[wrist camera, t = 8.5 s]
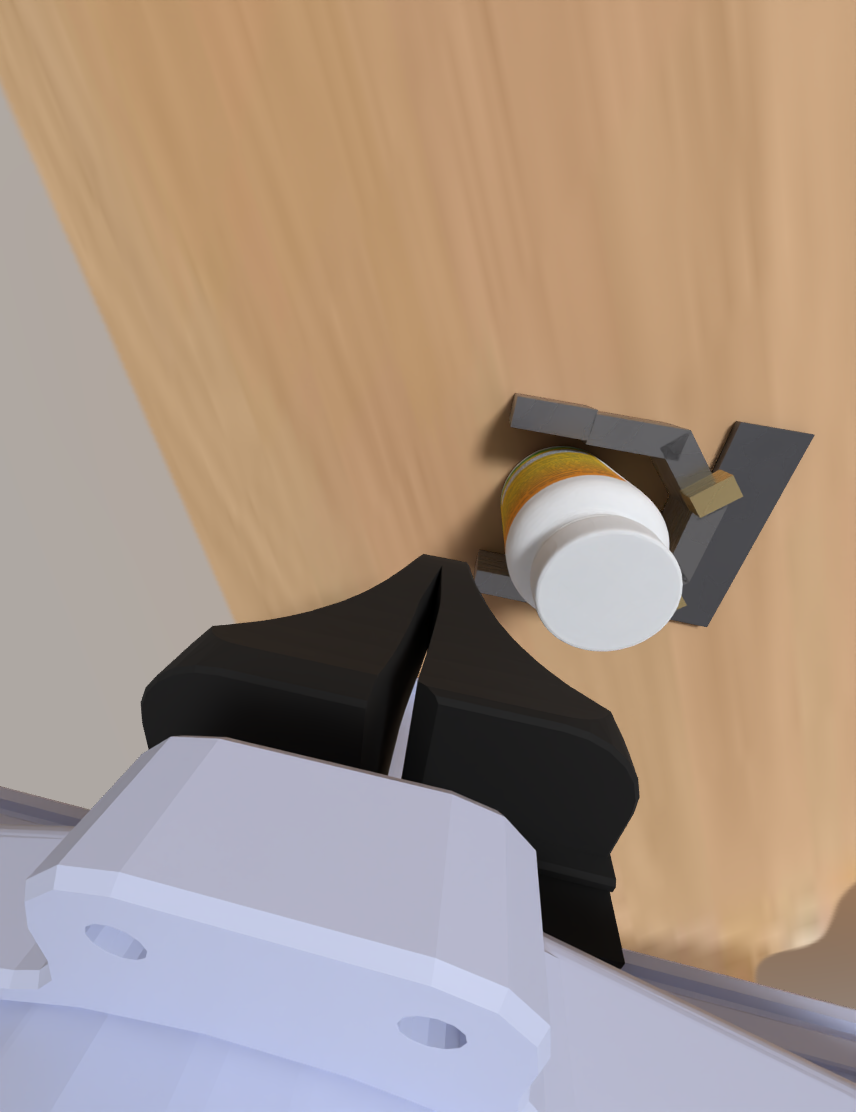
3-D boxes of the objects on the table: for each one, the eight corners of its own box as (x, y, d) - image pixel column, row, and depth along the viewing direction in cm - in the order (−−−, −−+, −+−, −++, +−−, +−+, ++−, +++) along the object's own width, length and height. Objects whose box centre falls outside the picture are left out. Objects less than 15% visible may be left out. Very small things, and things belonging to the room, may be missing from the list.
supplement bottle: (478, 509, 21) (471, 607, 12) (550, 420, 19) (605, 461, 10) (558, 567, 22) (606, 700, 13) (636, 488, 19) (760, 583, 11)
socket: (703, 622, 22) (738, 665, 18) (473, 575, 23) (469, 608, 19) (807, 433, 17) (877, 447, 14) (517, 383, 18) (521, 386, 15)
